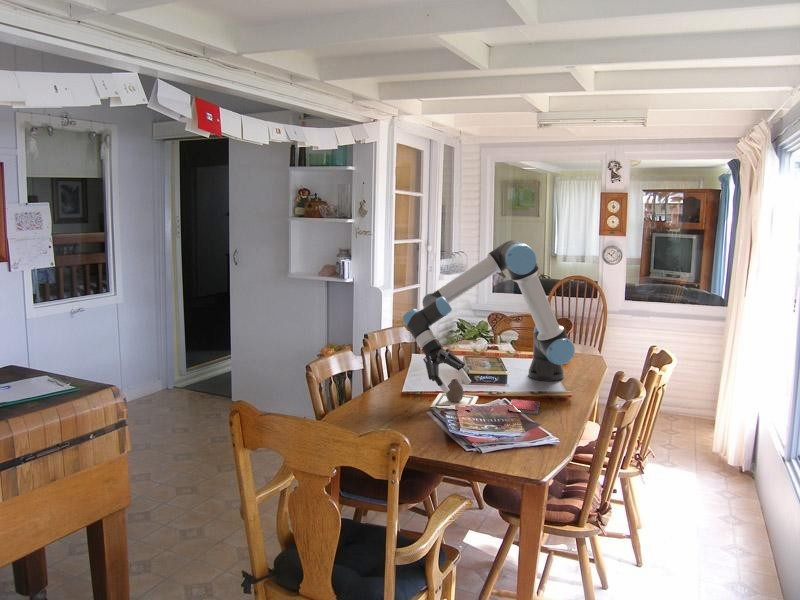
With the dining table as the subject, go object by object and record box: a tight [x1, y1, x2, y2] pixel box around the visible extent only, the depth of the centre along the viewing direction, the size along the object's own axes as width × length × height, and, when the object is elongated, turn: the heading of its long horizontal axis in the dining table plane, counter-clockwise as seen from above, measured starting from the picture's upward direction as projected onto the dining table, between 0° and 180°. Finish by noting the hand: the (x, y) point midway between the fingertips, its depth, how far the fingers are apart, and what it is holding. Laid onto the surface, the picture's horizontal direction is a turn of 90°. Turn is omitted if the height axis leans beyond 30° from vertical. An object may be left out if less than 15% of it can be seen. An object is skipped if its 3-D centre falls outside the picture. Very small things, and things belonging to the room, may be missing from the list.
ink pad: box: [510, 398, 541, 415], centre depth 264 cm, size 11×11×1 cm
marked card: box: [429, 392, 479, 408], centre depth 270 cm, size 16×16×1 cm
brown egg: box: [446, 378, 464, 403], centre depth 270 cm, size 7×7×9 cm
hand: (458, 387), depth 268 cm, fingers open, 13 cm apart
